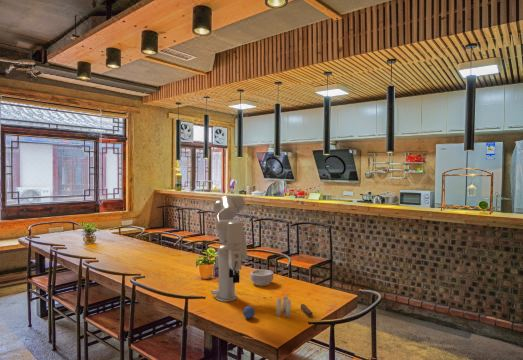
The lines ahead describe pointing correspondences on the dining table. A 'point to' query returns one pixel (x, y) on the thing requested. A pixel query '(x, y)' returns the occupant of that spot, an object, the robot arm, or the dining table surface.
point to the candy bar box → (216, 266)
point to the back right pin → (288, 308)
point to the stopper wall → (306, 310)
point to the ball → (248, 312)
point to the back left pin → (284, 304)
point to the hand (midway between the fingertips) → (234, 279)
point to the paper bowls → (261, 277)
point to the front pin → (278, 307)
